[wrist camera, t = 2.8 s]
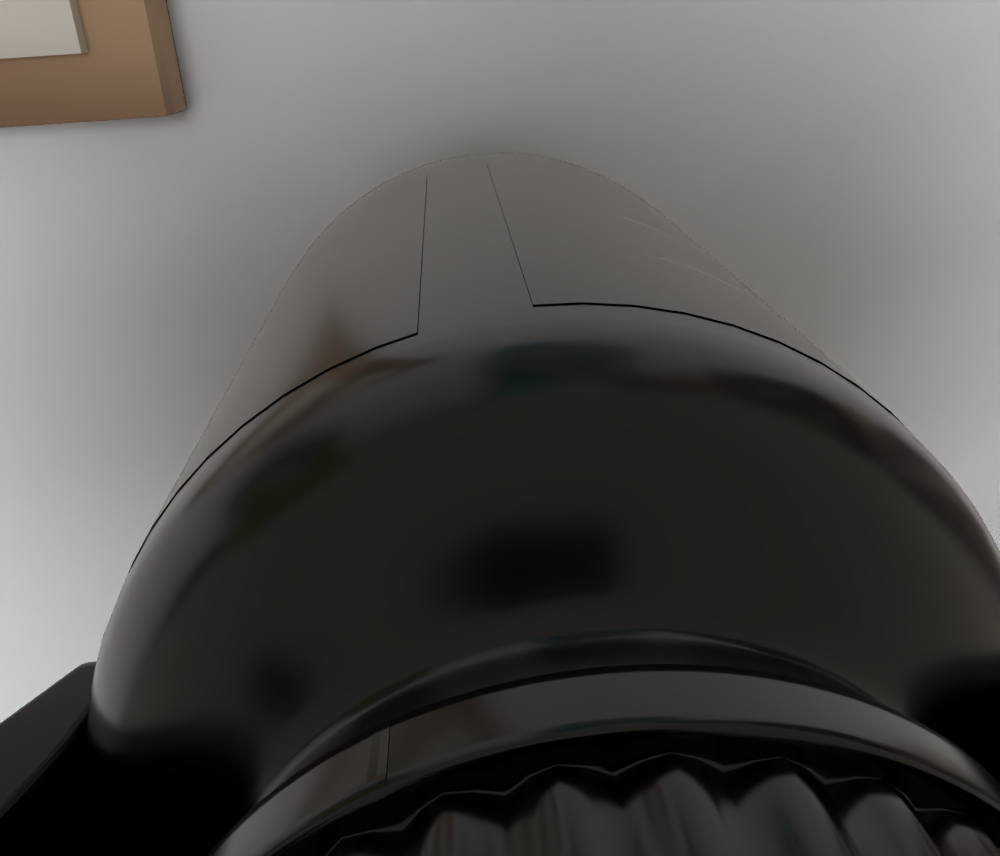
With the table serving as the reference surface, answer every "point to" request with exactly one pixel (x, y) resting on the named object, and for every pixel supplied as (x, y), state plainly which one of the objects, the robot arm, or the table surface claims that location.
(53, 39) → the picture frame
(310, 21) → the table surface
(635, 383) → the supplement bottle
